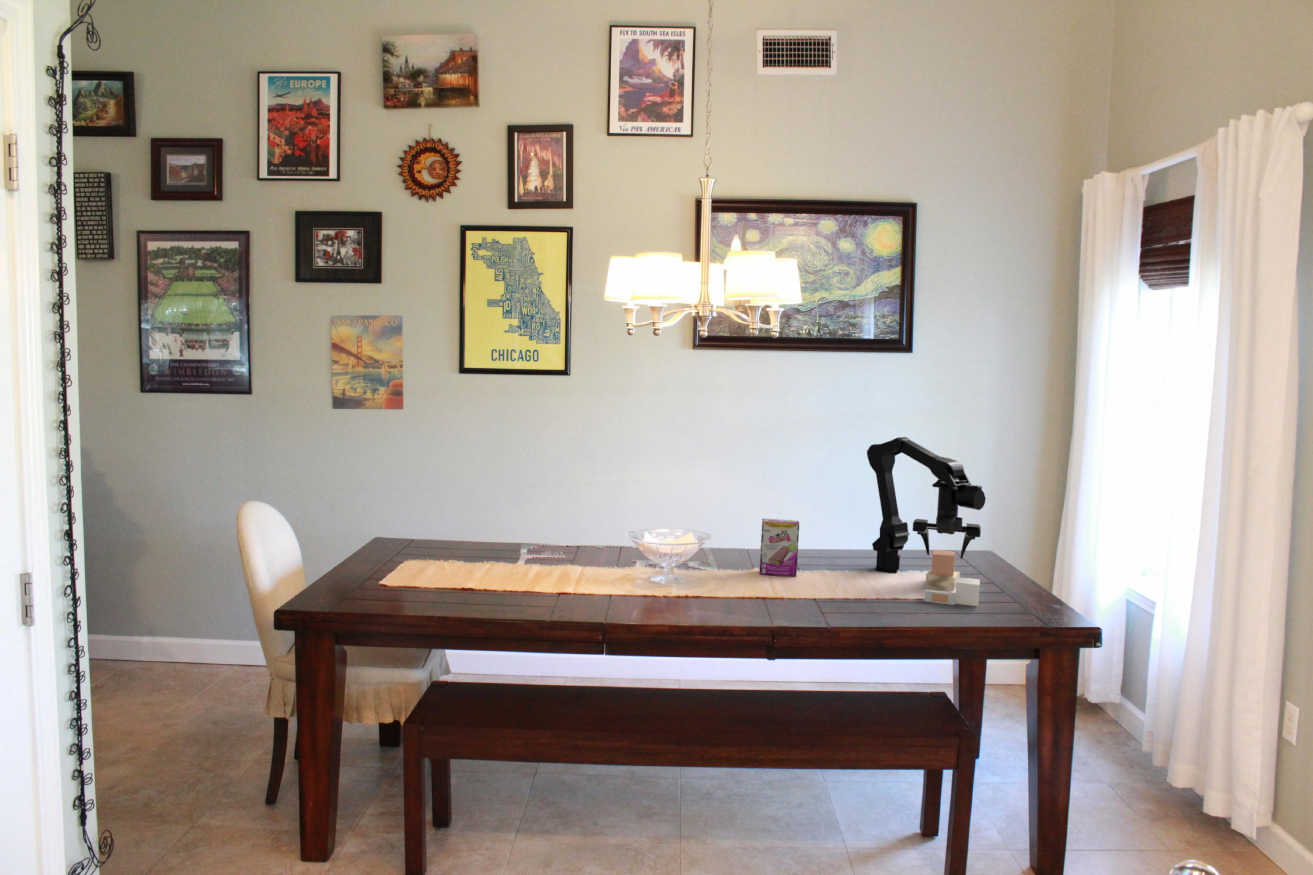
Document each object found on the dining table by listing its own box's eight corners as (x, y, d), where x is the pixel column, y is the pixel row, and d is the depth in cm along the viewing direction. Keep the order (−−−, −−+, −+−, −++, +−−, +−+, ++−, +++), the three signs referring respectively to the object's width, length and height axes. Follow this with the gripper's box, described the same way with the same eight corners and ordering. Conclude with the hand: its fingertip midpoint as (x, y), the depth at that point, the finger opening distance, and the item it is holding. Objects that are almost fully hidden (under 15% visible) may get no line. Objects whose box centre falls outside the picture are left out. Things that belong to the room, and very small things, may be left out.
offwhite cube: (954, 603, 247) (956, 582, 247) (955, 597, 253) (956, 577, 252) (978, 606, 245) (979, 584, 245) (978, 600, 251) (979, 579, 250)
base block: (925, 587, 264) (926, 573, 264) (931, 581, 271) (932, 568, 271) (953, 591, 260) (954, 578, 260) (959, 585, 267) (959, 572, 267)
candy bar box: (759, 575, 271) (761, 521, 269) (759, 570, 276) (761, 518, 274) (797, 577, 270) (799, 523, 268) (796, 572, 275) (798, 519, 273)
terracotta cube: (931, 574, 263) (932, 554, 263) (932, 569, 269) (934, 549, 268) (953, 576, 261) (954, 556, 261) (953, 571, 267) (955, 551, 266)
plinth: (924, 601, 248) (924, 590, 248) (924, 599, 250) (925, 589, 249) (954, 605, 245) (955, 594, 245) (954, 603, 247) (955, 592, 247)
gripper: (912, 506, 258) (909, 559, 260) (982, 511, 252) (978, 566, 254) (915, 499, 269) (912, 551, 270) (982, 505, 262) (978, 557, 264)
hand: (944, 556), depth 264 cm, fingers open, 9 cm apart
